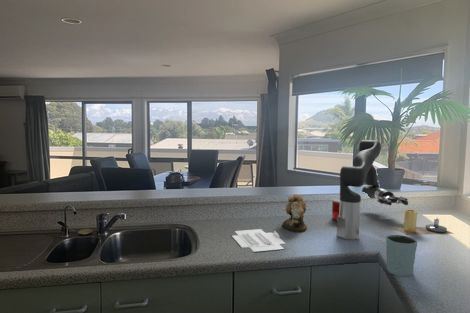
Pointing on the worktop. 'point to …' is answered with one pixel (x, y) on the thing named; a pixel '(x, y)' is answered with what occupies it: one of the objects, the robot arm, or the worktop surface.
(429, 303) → the worktop surface
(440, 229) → the disc
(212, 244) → the worktop surface
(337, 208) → the canned food
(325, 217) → the worktop surface
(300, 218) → the brown bust statue
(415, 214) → the brass sleeve
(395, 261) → the pale green pot
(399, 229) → the walnut board
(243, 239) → the white paper stack
